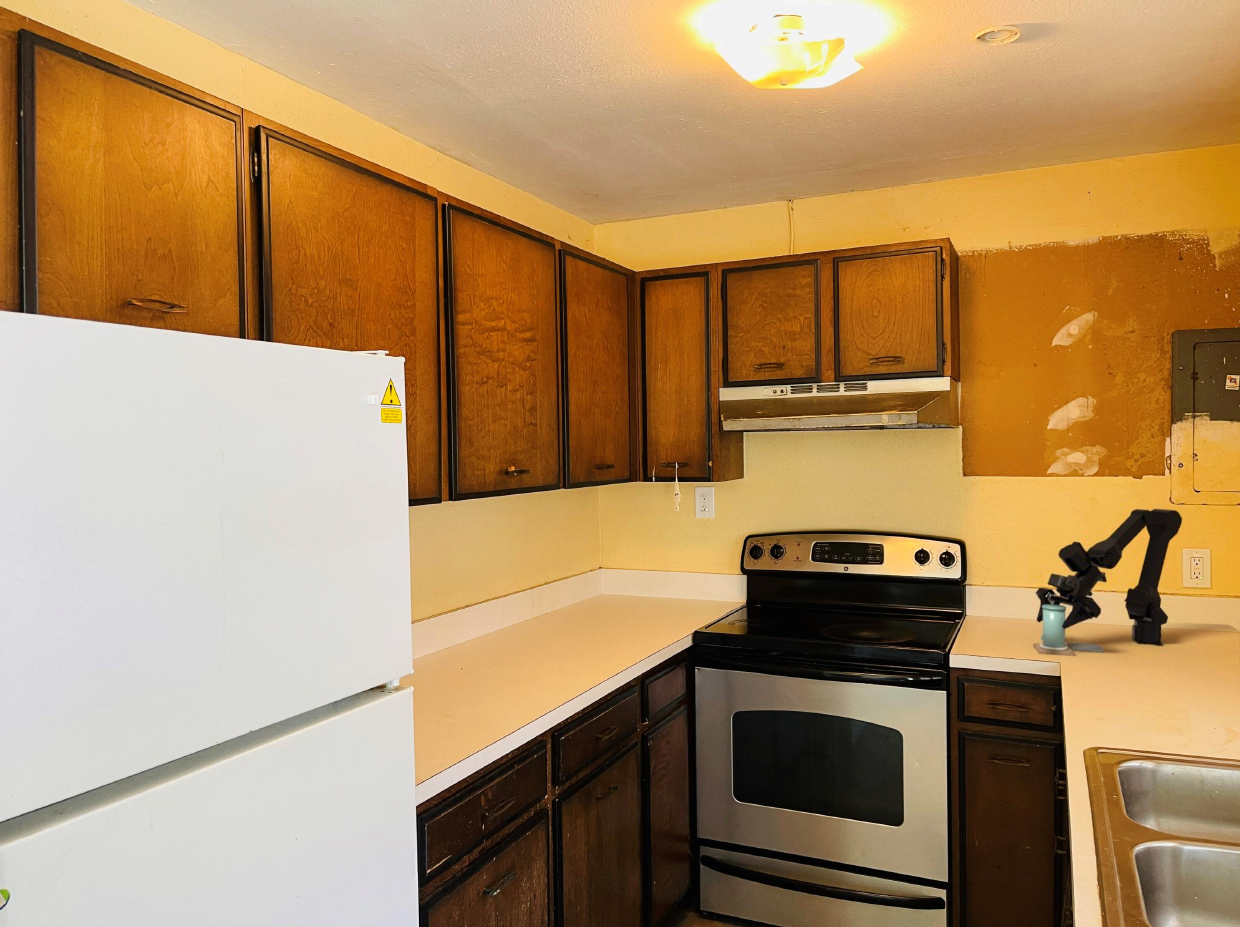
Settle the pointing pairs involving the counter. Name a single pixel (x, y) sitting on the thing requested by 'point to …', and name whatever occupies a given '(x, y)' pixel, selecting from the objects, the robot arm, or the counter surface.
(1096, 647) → the mat
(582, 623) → the counter surface
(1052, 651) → the brown square coaster
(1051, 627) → the teal cylindrical jar
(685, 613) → the counter surface
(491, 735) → the counter surface
